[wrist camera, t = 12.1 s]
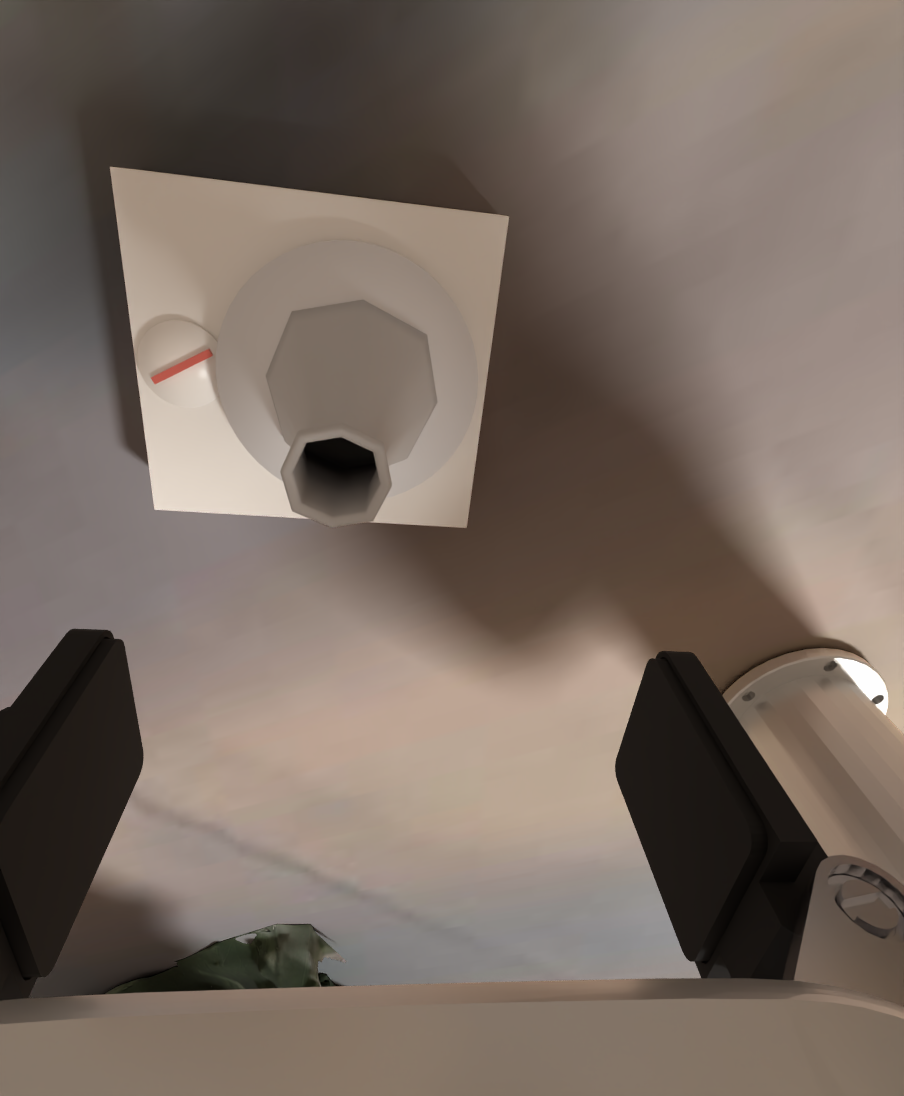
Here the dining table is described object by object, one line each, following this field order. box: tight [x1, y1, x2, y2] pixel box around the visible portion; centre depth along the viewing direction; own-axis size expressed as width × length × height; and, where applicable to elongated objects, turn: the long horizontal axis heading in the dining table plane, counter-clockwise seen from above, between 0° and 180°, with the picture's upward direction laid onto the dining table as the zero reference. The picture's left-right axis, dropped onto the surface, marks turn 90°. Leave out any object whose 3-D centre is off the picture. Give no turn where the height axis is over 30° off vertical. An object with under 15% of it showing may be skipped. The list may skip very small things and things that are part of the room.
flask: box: [266, 300, 438, 528], centre depth 22 cm, size 7×7×10 cm
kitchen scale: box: [110, 167, 509, 528], centre depth 28 cm, size 15×14×4 cm
